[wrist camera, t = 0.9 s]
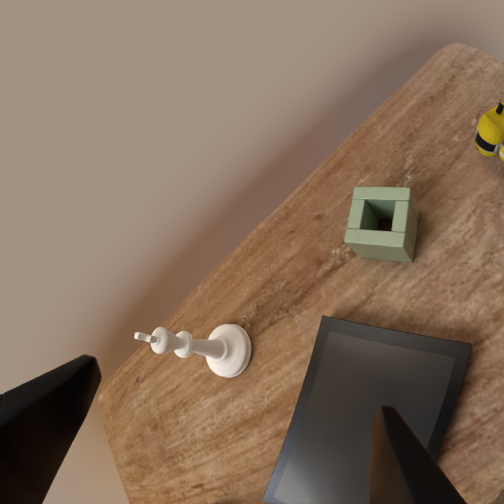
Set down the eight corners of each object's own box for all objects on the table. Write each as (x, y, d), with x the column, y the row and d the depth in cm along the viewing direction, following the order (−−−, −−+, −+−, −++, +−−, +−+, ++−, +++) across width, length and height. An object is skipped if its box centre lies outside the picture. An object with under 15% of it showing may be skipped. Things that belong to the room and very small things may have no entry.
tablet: (388, 546, 14) (383, 554, 13) (270, 496, 21) (260, 500, 20) (471, 344, 17) (472, 343, 16) (329, 317, 24) (321, 315, 23)
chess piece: (246, 383, 26) (149, 379, 19) (206, 371, 29) (114, 361, 22) (256, 327, 27) (163, 305, 20) (215, 321, 31) (126, 298, 23)
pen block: (412, 263, 21) (403, 247, 18) (360, 257, 24) (343, 242, 21) (419, 209, 22) (410, 186, 19) (369, 207, 24) (354, 186, 22)
